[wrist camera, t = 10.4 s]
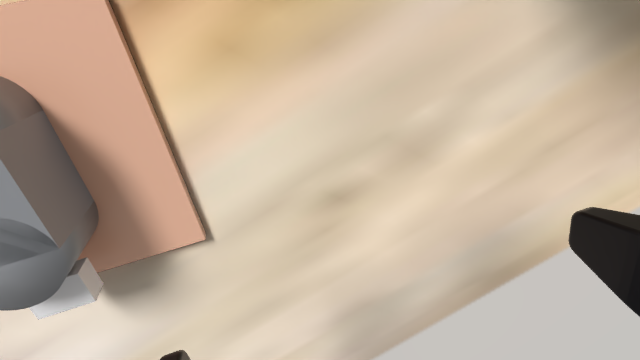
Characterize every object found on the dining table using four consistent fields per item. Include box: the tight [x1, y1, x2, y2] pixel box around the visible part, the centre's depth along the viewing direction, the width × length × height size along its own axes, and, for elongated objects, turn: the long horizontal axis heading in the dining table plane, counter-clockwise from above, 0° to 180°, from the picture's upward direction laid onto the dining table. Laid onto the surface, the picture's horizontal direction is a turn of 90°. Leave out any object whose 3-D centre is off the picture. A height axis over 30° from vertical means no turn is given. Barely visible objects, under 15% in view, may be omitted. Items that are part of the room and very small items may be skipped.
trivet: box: [0, 0, 206, 273], centre depth 16 cm, size 12×12×1 cm
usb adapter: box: [0, 76, 104, 320], centre depth 14 cm, size 10×4×4 cm, turn 12°
